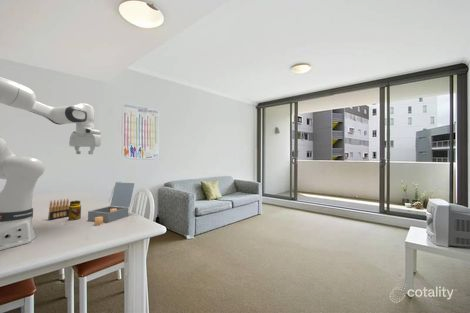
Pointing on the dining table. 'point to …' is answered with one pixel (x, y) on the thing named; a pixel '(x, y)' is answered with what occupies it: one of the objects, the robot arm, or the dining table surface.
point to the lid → (122, 194)
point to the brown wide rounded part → (99, 220)
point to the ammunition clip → (58, 210)
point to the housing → (108, 214)
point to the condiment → (74, 210)
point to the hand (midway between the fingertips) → (84, 154)
